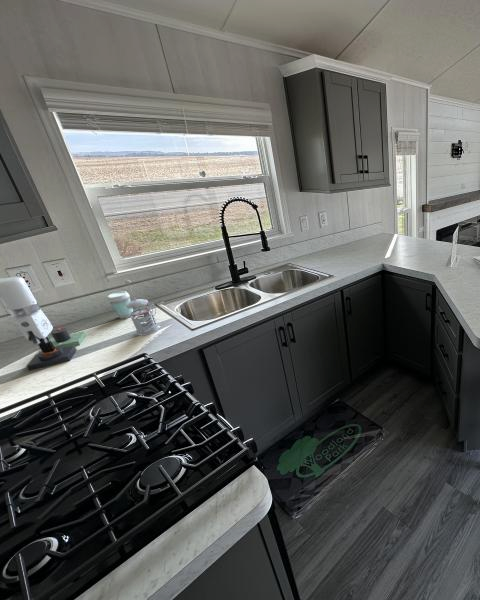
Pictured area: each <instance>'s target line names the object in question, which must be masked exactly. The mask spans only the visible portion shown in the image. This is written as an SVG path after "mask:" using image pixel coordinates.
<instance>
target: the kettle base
mask: <svg viewBox="0 0 480 600" xmlns="http://www.w3.org/2000/svg"><path fill="white" fill-rule="evenodd" d="M76 347H77V346H71V347H67V348H61V347H55V349H56V350H57V351H55V352H53V353H51V354H47V355H43V354H42V353H43V352H42V351H41V350H40V351H39V352H38V353H36V354H35V355H34V356H33V357H32V358H31V359H30V361H29V362H28V363H27V364H26V368H27V369H28V371H33V370H37V369H41V368H47V367H50V366H51V367H52V366H55V365H58V364H63V363H67V362H71V361H72V359H73V357H74V355H75V354H76V352H77V350H78V349H77V348H76Z"/></svg>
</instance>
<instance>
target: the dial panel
mask: <svg viewBox="0 0 480 600" xmlns="http://www.w3.org/2000/svg"><path fill="white" fill-rule="evenodd" d="M69 335H70V337H71V338H70V339H69V340H67V341H64V342H59V343H57V342H56V341H55V340H54V338H53V337H50V341H51V342H52V343H53V345H54V347H61V348H67V347H71V346H75V347H77V346H81V344H82V342H83V341H84V339H85V338H86V336H87V333H86V331H85V330H84V331H77V332H73V333H69ZM41 351H42V350H41V349H40V352H41Z"/></svg>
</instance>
